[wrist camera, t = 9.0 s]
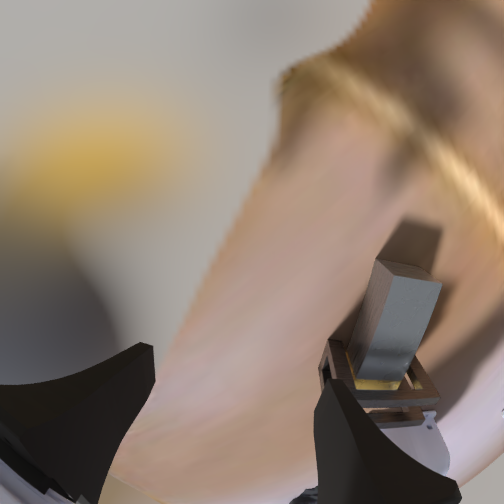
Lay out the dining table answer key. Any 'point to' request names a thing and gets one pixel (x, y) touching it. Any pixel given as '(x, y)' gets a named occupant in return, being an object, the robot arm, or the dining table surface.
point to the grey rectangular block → (390, 324)
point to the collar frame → (404, 397)
